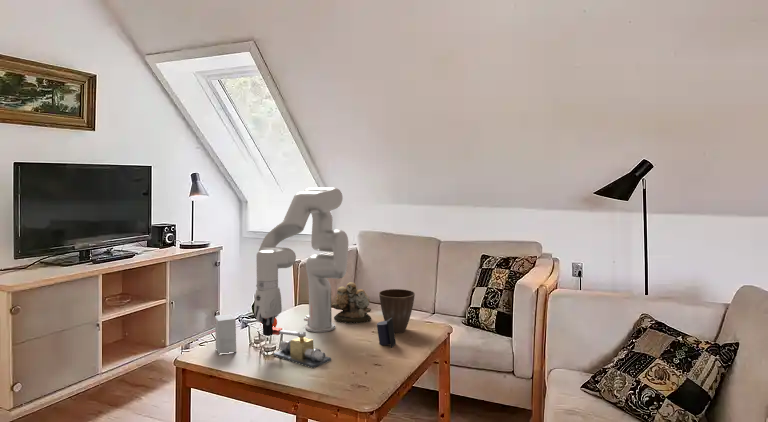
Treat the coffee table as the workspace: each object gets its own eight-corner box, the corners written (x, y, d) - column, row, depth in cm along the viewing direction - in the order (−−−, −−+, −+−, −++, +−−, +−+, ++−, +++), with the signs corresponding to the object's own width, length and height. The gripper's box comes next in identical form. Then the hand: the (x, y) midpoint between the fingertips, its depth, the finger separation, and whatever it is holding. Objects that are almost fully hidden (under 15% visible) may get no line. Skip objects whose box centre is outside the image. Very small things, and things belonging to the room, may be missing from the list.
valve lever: (270, 331, 196) (270, 326, 195) (307, 336, 190) (307, 331, 190) (266, 333, 193) (266, 328, 193) (303, 338, 187) (303, 333, 187)
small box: (236, 353, 195) (235, 318, 194) (218, 356, 192) (217, 321, 191) (232, 346, 202) (231, 313, 201) (215, 349, 199) (214, 315, 198)
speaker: (400, 343, 204) (397, 317, 204) (391, 348, 200) (388, 321, 200) (385, 341, 209) (382, 315, 209) (376, 346, 205) (373, 319, 204)
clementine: (271, 326, 228) (270, 310, 228) (282, 329, 224) (282, 313, 224) (256, 331, 222) (256, 314, 221) (268, 334, 218) (268, 317, 217)
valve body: (273, 355, 192) (273, 334, 192) (292, 349, 199) (291, 328, 199) (313, 368, 180) (312, 345, 179) (331, 360, 187) (330, 338, 187)
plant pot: (414, 325, 229) (414, 289, 228) (415, 336, 214) (415, 297, 213) (379, 325, 230) (379, 288, 229) (378, 335, 215) (378, 297, 214)
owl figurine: (330, 323, 233) (329, 285, 232) (333, 316, 245) (333, 279, 244) (370, 323, 232) (370, 285, 231) (372, 316, 244) (372, 279, 243)
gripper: (261, 289, 181) (261, 342, 182) (288, 282, 194) (289, 331, 196) (244, 287, 185) (245, 338, 186) (272, 280, 198) (273, 328, 199)
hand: (267, 334), depth 191 cm, fingers closed
